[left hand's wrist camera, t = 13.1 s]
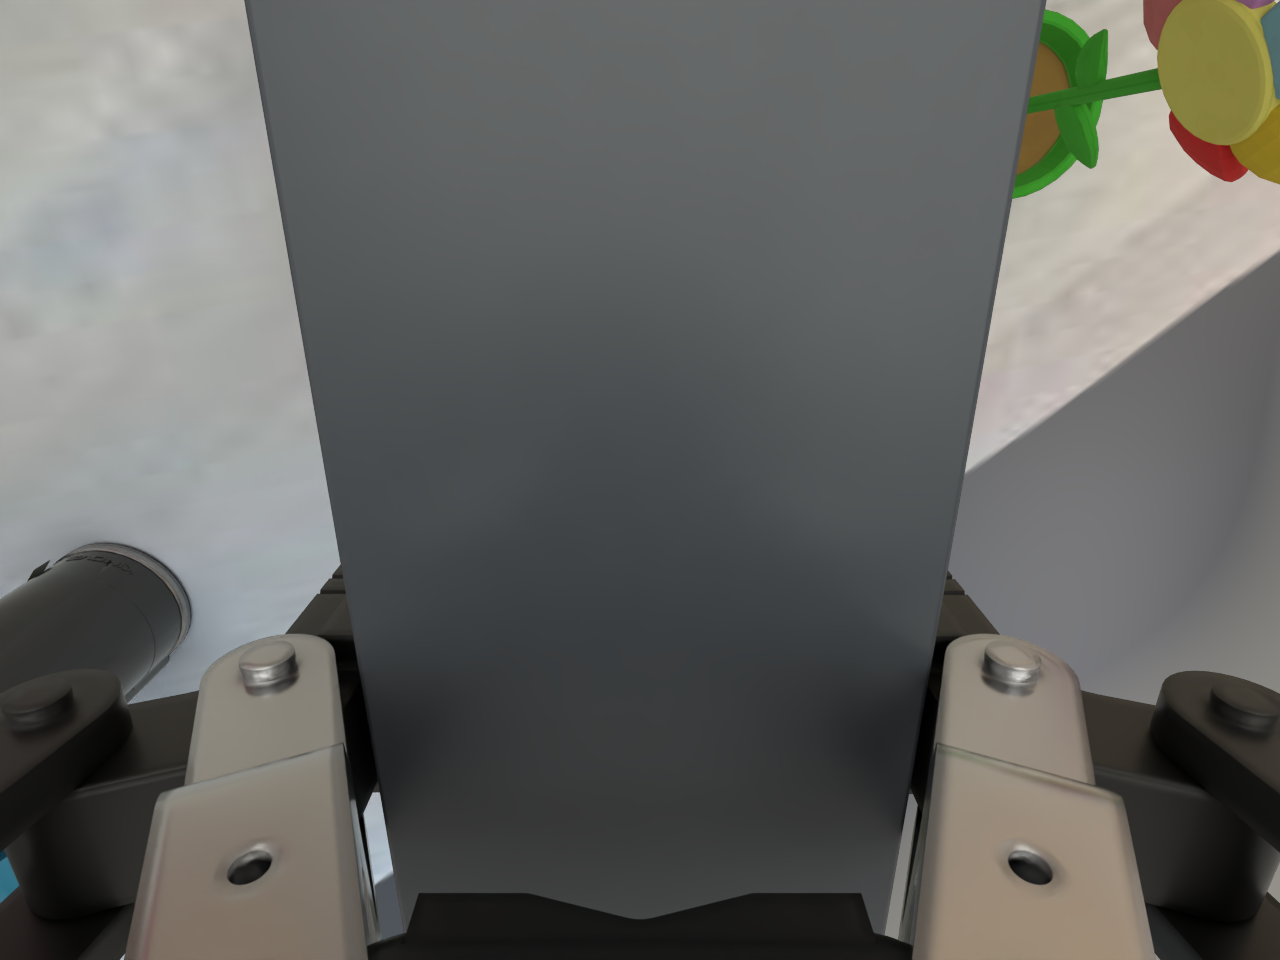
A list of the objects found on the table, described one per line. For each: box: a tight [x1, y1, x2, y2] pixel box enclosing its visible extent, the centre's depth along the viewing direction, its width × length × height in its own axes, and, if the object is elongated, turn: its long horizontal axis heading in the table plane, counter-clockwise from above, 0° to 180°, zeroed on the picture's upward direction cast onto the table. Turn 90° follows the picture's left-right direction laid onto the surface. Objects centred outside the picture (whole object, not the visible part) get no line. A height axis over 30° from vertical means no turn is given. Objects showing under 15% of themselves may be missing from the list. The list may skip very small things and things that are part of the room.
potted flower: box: [1012, 0, 1280, 199], centre depth 28 cm, size 9×8×25 cm
